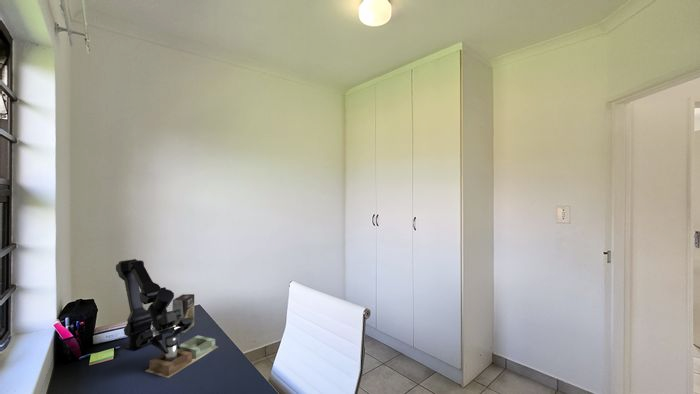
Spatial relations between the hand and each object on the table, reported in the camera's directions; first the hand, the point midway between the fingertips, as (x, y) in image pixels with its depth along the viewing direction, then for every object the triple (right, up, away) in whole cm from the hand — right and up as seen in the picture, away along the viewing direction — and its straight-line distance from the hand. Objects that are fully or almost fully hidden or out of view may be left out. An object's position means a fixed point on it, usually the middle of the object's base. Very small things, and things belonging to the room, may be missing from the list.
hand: (173, 351), depth 114 cm
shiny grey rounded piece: (-1, -6, +1) cm, 6 cm away
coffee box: (-15, -7, +35) cm, 39 cm away
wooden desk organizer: (+1, -7, +6) cm, 10 cm away
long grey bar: (-28, -7, +40) cm, 49 cm away
